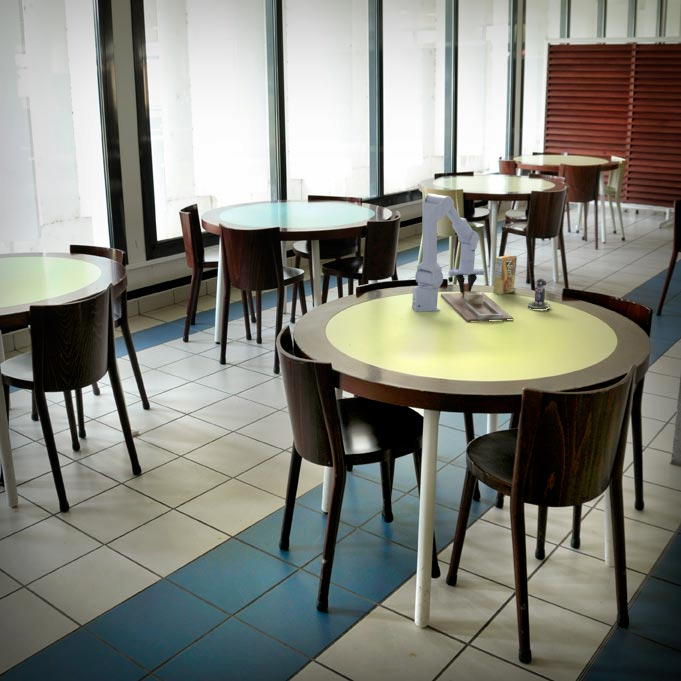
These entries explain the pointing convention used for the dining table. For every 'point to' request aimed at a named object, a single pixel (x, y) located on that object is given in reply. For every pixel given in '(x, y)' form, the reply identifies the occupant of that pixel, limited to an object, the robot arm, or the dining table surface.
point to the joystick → (472, 295)
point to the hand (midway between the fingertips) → (465, 292)
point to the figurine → (539, 296)
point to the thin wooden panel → (476, 308)
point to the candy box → (504, 274)
